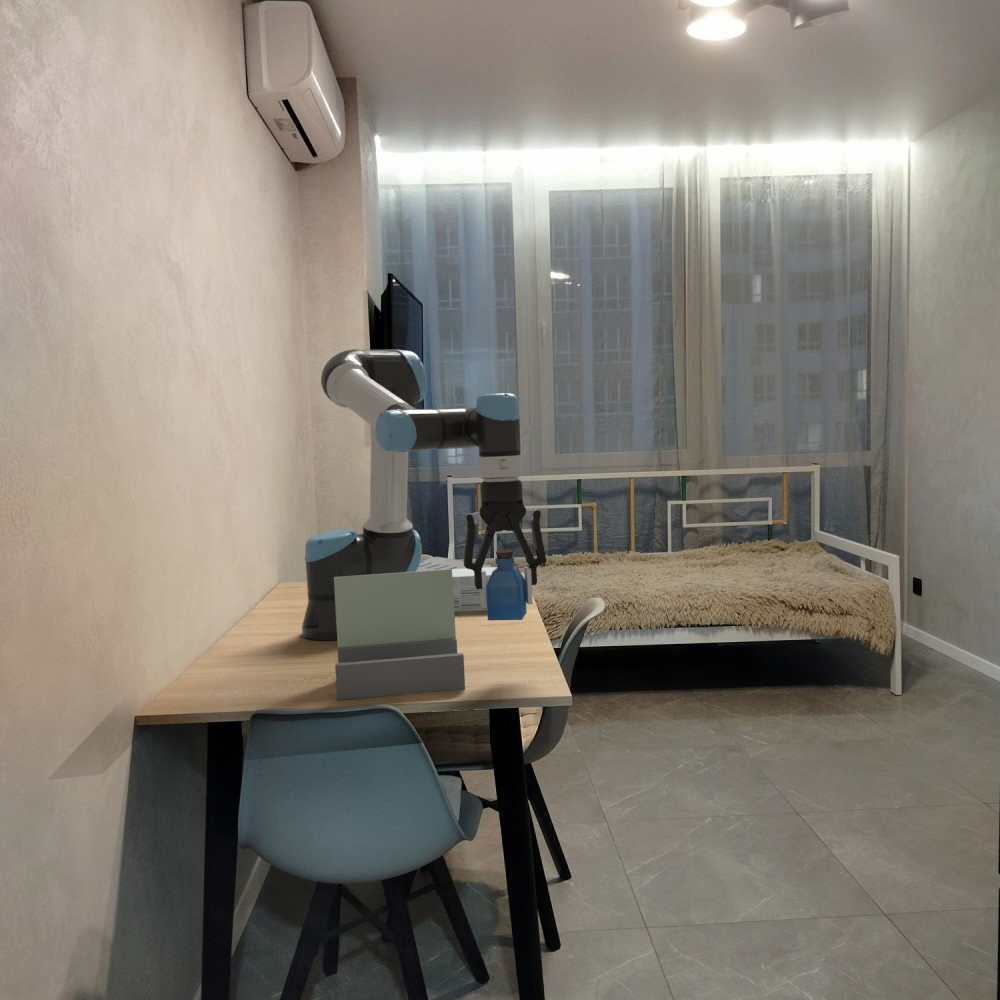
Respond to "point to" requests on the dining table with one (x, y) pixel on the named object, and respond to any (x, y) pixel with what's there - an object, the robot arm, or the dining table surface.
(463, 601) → the supplement box
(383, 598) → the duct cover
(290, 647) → the dining table surface
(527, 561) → the robot arm
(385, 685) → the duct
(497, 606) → the perfume bottle
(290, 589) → the dining table surface
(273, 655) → the dining table surface
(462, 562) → the warehouse
